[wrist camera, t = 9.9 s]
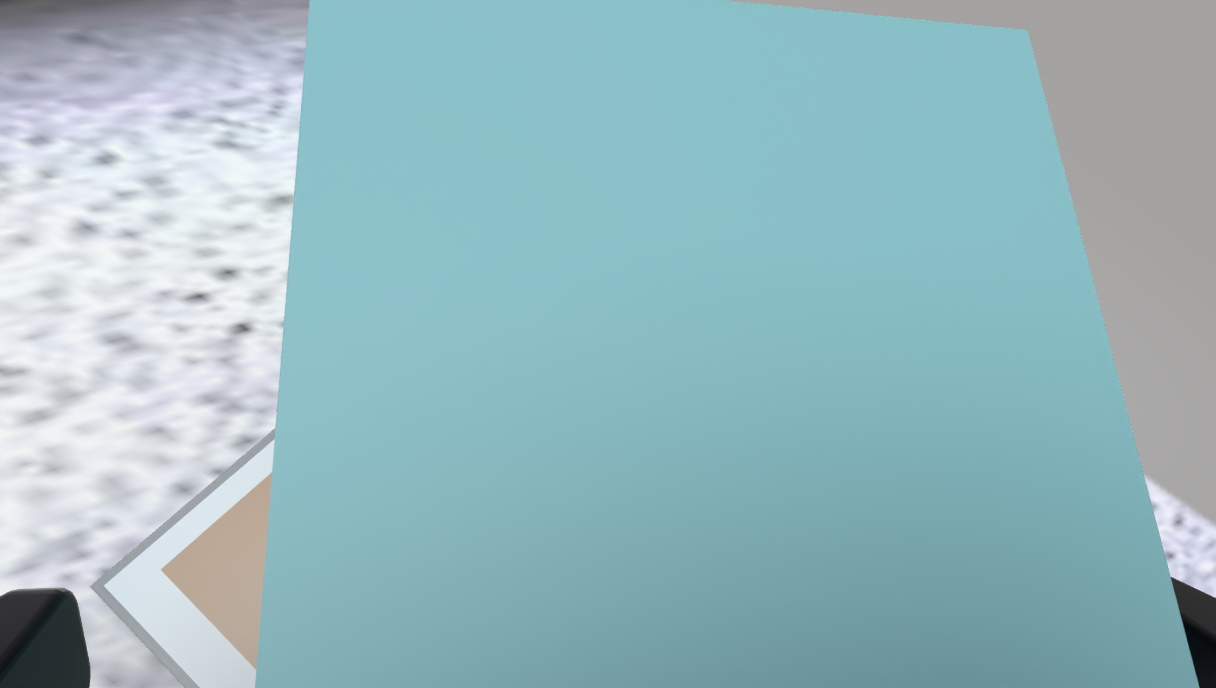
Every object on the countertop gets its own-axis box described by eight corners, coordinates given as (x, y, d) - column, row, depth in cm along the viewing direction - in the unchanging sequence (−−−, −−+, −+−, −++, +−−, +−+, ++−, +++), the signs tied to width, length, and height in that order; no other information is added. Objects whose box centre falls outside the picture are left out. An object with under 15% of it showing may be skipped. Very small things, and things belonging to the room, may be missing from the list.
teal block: (665, 694, 16) (1227, 791, 5) (384, 713, 15) (237, 893, 4) (646, 428, 17) (1027, 30, 6) (393, 430, 16) (313, -41, 5)
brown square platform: (512, 1020, 17) (535, 1121, 13) (107, 589, 18) (23, 573, 14) (849, 566, 21) (936, 547, 18) (507, 245, 23) (521, 165, 19)
